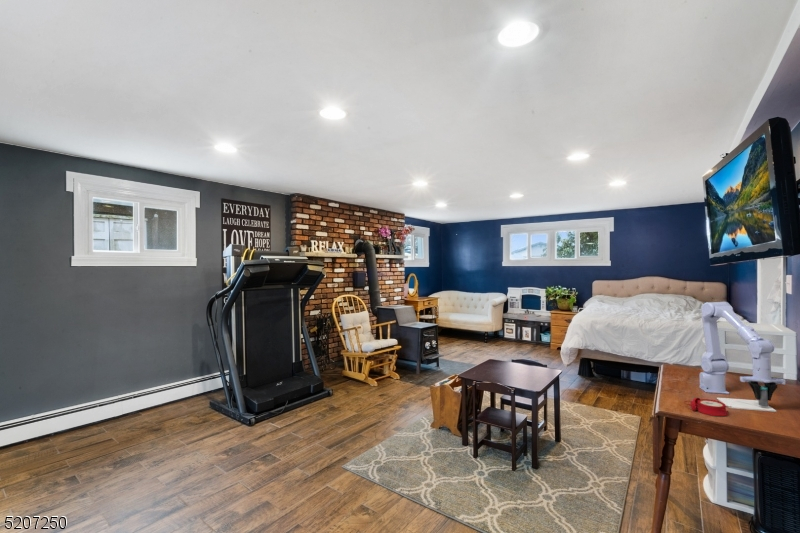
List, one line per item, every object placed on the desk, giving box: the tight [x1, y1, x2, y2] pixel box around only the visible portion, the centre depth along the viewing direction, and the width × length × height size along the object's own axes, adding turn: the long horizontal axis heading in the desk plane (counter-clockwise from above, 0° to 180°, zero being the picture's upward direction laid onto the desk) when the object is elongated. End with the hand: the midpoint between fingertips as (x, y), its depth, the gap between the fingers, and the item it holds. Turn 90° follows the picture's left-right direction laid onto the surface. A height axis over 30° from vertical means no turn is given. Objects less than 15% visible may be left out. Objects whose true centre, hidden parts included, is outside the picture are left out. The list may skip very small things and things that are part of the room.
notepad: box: [716, 397, 777, 413], centre depth 165 cm, size 16×12×1 cm
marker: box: [758, 385, 769, 406], centre depth 161 cm, size 3×3×8 cm
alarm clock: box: [683, 397, 731, 417], centre depth 161 cm, size 10×6×15 cm
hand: (762, 399), depth 161 cm, fingers closed on marker, 3 cm apart
